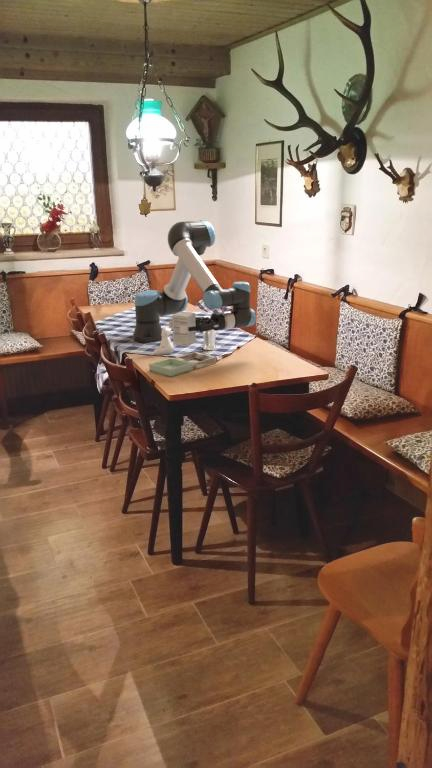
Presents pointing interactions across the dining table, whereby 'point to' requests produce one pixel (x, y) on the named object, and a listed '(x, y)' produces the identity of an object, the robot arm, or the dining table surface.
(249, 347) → the dining table surface
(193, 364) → the beige square tray
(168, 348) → the white creature statuette
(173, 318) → the supplement box
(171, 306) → the robot arm
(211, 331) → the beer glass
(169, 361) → the green tray
